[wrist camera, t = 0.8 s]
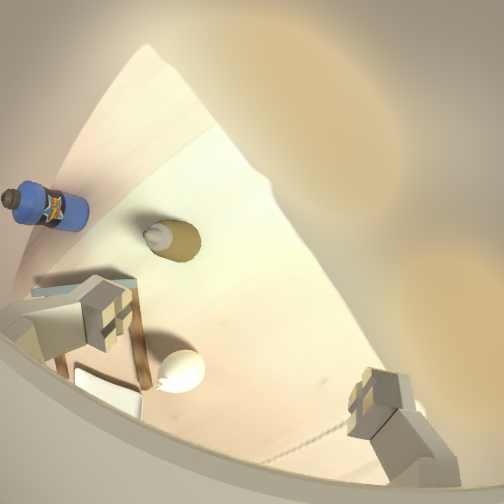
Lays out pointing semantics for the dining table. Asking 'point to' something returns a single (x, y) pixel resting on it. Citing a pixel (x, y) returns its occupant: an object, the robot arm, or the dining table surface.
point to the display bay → (135, 330)
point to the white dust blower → (180, 371)
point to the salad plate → (111, 393)
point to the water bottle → (46, 207)
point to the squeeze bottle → (173, 240)
